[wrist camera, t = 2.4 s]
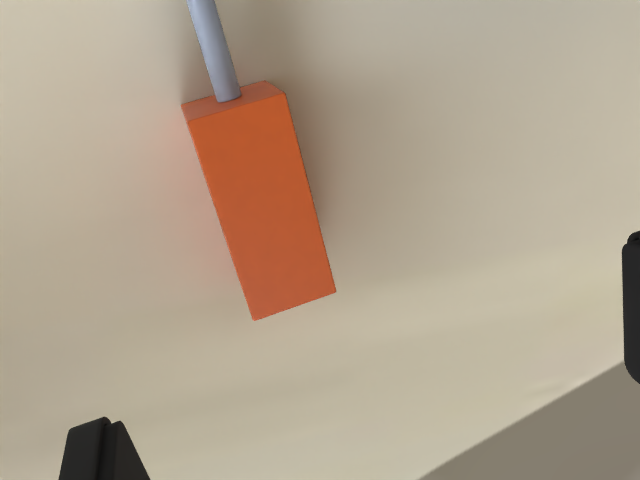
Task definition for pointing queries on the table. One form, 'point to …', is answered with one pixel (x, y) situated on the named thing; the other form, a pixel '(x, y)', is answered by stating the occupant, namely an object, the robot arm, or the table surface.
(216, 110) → the screwdriver
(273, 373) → the table surface
